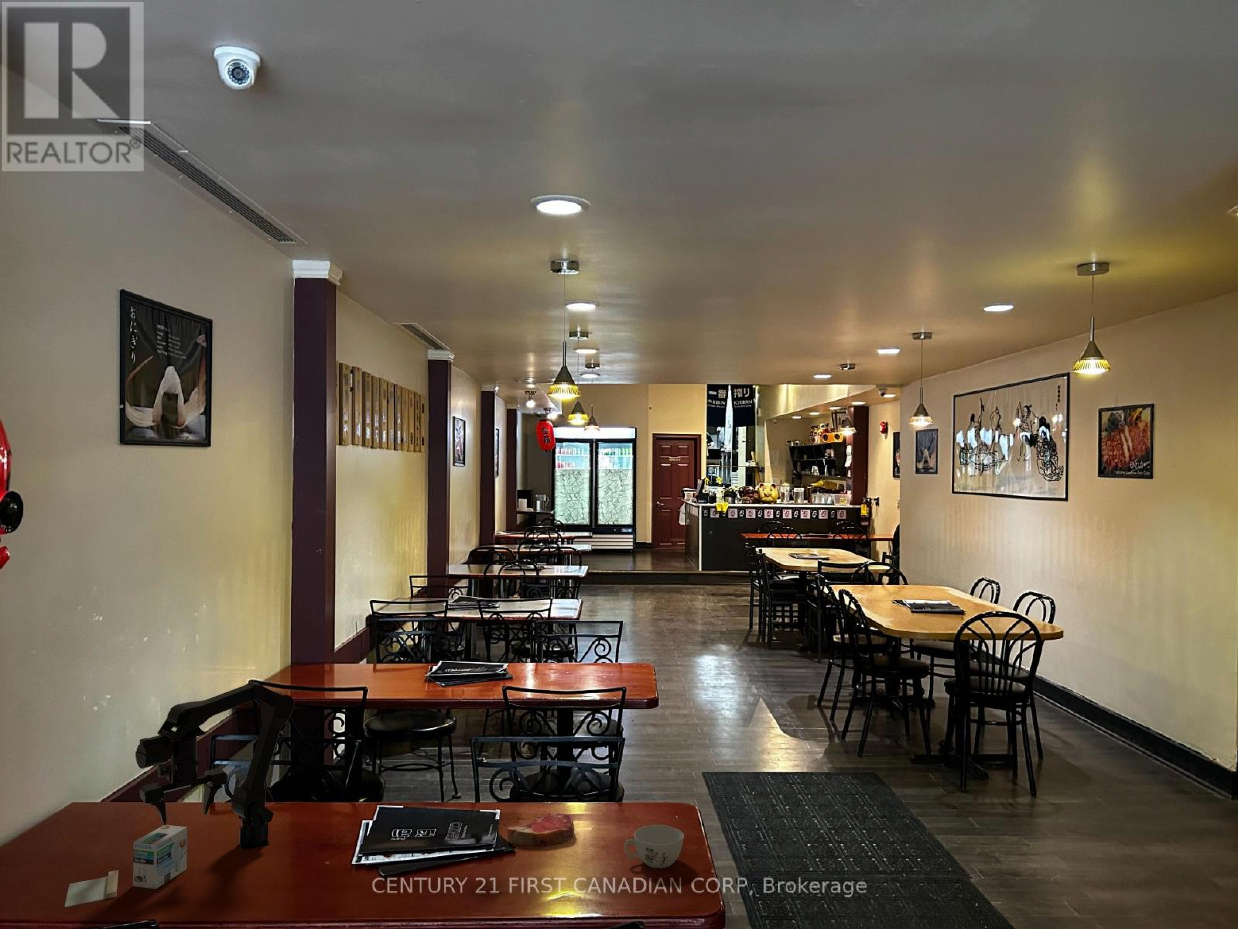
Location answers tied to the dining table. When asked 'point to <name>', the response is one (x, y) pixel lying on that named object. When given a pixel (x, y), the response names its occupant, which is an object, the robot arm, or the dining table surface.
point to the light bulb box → (159, 856)
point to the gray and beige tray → (92, 890)
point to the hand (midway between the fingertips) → (185, 819)
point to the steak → (543, 831)
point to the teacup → (656, 845)
